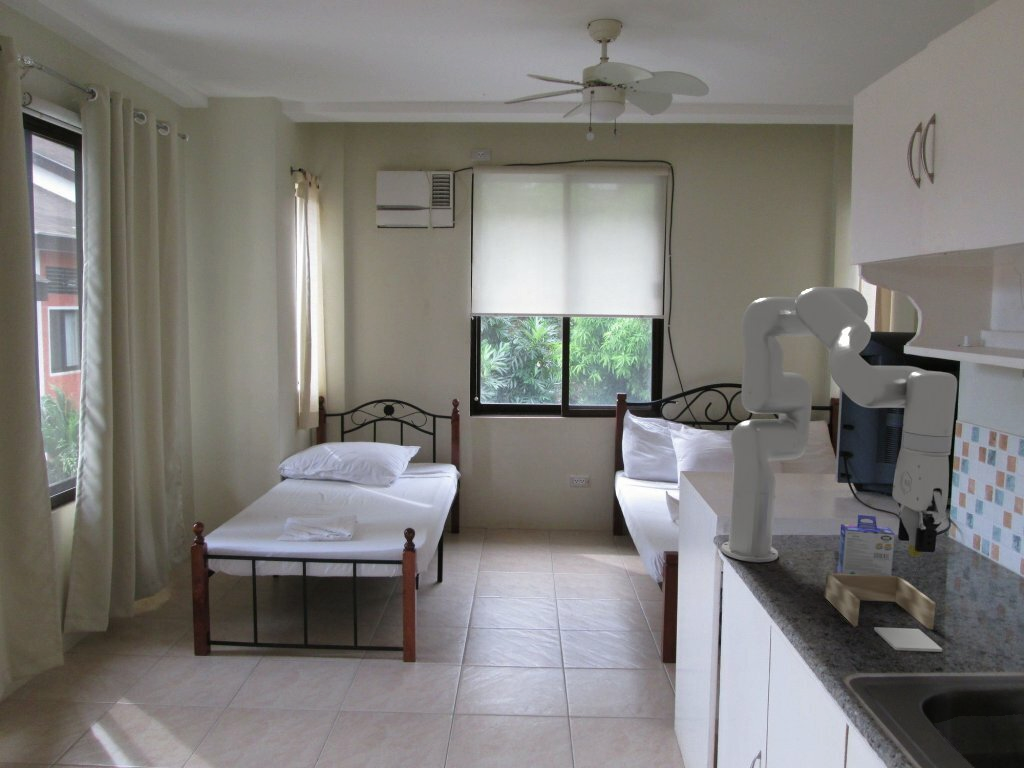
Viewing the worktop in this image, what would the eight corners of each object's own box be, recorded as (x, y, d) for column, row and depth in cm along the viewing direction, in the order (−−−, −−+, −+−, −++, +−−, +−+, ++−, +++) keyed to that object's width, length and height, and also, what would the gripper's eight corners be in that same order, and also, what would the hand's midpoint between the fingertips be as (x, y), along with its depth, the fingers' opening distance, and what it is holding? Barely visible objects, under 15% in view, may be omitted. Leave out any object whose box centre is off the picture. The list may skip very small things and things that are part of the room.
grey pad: (874, 629, 141) (874, 627, 141) (918, 631, 141) (918, 628, 141) (895, 650, 133) (895, 647, 133) (942, 651, 133) (942, 649, 133)
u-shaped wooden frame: (824, 597, 156) (826, 573, 155) (897, 600, 156) (899, 576, 155) (853, 626, 142) (855, 600, 142) (933, 629, 142) (935, 603, 142)
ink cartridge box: (884, 582, 166) (890, 516, 164) (891, 591, 160) (898, 523, 158) (835, 577, 168) (840, 512, 166) (840, 586, 162) (846, 519, 160)
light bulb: (917, 564, 132) (923, 506, 131) (890, 553, 137) (895, 498, 136) (939, 560, 134) (945, 504, 133) (912, 550, 139) (917, 496, 138)
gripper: (881, 433, 142) (872, 530, 144) (930, 452, 125) (919, 562, 127) (922, 434, 142) (912, 531, 144) (977, 454, 125) (965, 563, 127)
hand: (915, 544), depth 135 cm, fingers closed on light bulb, 5 cm apart
